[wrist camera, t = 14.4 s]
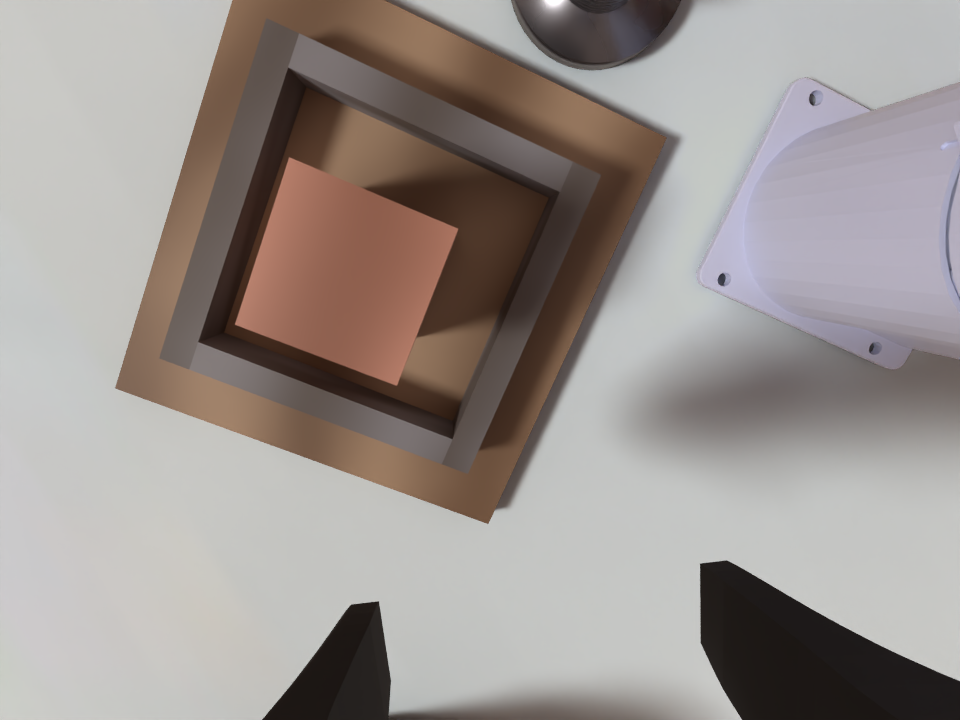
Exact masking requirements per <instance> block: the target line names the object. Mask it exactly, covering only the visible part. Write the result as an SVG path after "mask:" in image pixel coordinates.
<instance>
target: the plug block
mask: <svg viewBox="0 0 960 720" xmlns="http://www.w3.org/2000/svg"><path fill="white" fill-rule="evenodd" d="M457 232H458V228H455V227H453V226H451V225H448V224H446V223H443V222H441V221H439V220H436V219H434V218H432V217H429V216H427V215H425V214H422V213H420V212H417V211H415V210H413V209H410V208H408V207H406V206H403V205H401V204H399V203H396V202H394V201H392V200H389V199H387V198H384V197H382V196H380V195H377V194H375V193H373V192H370V191H368V190H366V189H363V188H361V187H358V186H356V185H354V184H351V183H349V182H347V181H344V180H342V179H340V178H337V177H335V176H332V175H330V174H328V173H325V172H323V171H321V170H318V169H316V168H314V167H311V166H309V165H306V164H304V163H302V162H299V161H297V160H295V159H292V158H290V157H289V160H288V163H287V166H286V169H285V172H284V175H283V178H282V181H281V184H280V187H279V190H278V193H277V197H276V200H275V203H274V206H273V209H272V212H271V215H270V218H269V221H268V224H267V227H266V230H265V233H264V237H263V240H262V243H261V246H260V249H259V252H258V255H257V258H256V261H255V264H254V267H253V270H252V274H251V277H250V280H249V283H248V286H247V289H246V292H245V295H244V298H243V301H242V304H241V307H240V310H239V314H238V317H237V320H236V323H235V325H237V326H240V327H242V328H245V329H248V330H250V331H253V332H256V333H258V334H261V335H264V336H266V337H269V338H271V339H274V340H277V341H279V342H282V343H285V344H287V345H290V346H293V347H295V348H298V349H301V350H303V351H306V352H309V353H311V354H314V355H316V356H319V357H322V358H324V359H327V360H330V361H332V362H335V363H338V364H340V365H343V366H346V367H348V368H351V369H354V370H356V371H359V372H361V373H364V374H367V375H369V376H372V377H375V378H377V379H380V380H383V381H385V382H388V383H391V384H393V385H396V386H397V384H398V382H399V379H400V377H401V374H402V372H403V369H404V367H405V365H406V362H407V360H408V357H409V355H410V352H411V350H412V347H413V345H414V342H415V340H416V337H417V335H418V332H419V330H420V327H421V325H422V322H423V320H424V317H425V314H426V312H427V309H428V307H429V304H430V302H431V299H432V297H433V294H434V291H435V289H436V286H437V284H438V281H439V279H440V276H441V274H442V271H443V269H444V266H445V263H446V261H447V258H448V256H449V253H450V251H451V248H452V246H453V243H454V240H455V238H456V235H457Z"/></svg>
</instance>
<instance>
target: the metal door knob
mask: <svg viewBox="0 0 960 720" xmlns="http://www.w3.org/2000/svg"><path fill="white" fill-rule="evenodd" d="M680 1H681V0H511V2H512V5H513V9H514V12H515V14H516V16H517V19H518V21H519V23H520V25H521V27H522V28H523V30H524V32H525V33H526V35H527V36H528V37H529V39H530V40H531V41H532V42H533V43H534V44H535V45H536V46H537V47H538V49H539V50H541V51H542V52H543V53H545V54H546V55H547V56H548V57H550V58H552V59H553V60H555V61H557V62H559V63H561V64H564V65H566V66H569V67H573V68H577V69H584V70H601V69H606V68H611V67H614V66H617V65H620V64H622V63H624V62H626V61H628V60H630V59H632V58H634V57H635V56H637V55H638V54H639V53H641V52H642V51H643V50H644V49H645V48H647V47H648V46H649V45H650V44H651V43H652V42H653V41H654V40H655V39H656V38H657V37H658V36H659V34H660V33H661V32H662V31H663V30H664V29H665V27H666V26H667V25H668V23H669V22H670V20H671V19H672V17H673V16H674V14H675V12H676V10H677V8H678V6H679V4H680Z"/></svg>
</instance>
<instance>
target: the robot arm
mask: <svg viewBox="0 0 960 720" xmlns="http://www.w3.org/2000/svg"><path fill="white" fill-rule="evenodd" d="M810 94H813V95H814V96H815V98H816V102H815V105H814V106H812V105H811V104H810V102H809V96H810ZM722 273H724V274H725V277H726V280H725V282H724V284H723V285H719V284H718V281H717V280H718V276H719V275H720V274H722ZM696 279H697V281H698V282H699V284H701V285H702V286H704V287H706V288H708V289H710V290H713V291H715V292H717V293H719V294H722V295H724V296H726V297H728V298H730V299H733V300H735V301H737V302H739V303H742V304H744V305H746V306H748V307H750V308H753V309H755V310H757V311H759V312H761V313H764V314H766V315H768V316H770V317H773V318H775V319H777V320H779V321H781V322H784V323H786V324H788V325H790V326H793V327H795V328H797V329H799V330H801V331H804V332H806V333H808V334H810V335H812V336H815V337H817V338H819V339H821V340H824V341H826V342H828V343H830V344H832V345H835V346H837V347H839V348H841V349H844V350H846V351H848V352H850V353H852V354H855V355H857V356H859V357H861V358H863V359H866V360H868V361H870V362H872V363H875V364H877V365H879V366H881V367H884V368H888V369H892V370H894V369H898V368H900V367H901V366H902V365H903V364H904V363H905V361H906V360H907V358H908V356H909V355H910V353H911V351H912V350H913V349H914V350H919V351H923V352H928V353H932V354H937V355H941V356H946V357H950V358H955V359H959V360H960V82H958V83H955V84H952V85H949V86H946V87H943V88H940V89H937V90H934V91H931V92H928V93H924V94H921V95H918V96H915V97H912V98H909V99H906V100H903V101H900V102H897V103H894V104H891V105H888V106H885V107H882V108H878V109H875V110H872V111H871V110H870V109H868V108H866V107H864V106H862V105H860V104H858V103H856V102H854V101H852V100H850V99H849V98H847V97H845V96H843V95H841V94H839V93H837V92H835V91H833V90H831V89H829V88H828V87H826V86H824V85H822V84H820V83H818V82H816V81H814V80H812V79H810V78H806V77H804V78H800V79H798V80H796V81H794V82H792V83H791V84H790V85H789V86H788V87H787V89H786V91H785V93H784V95H783V97H782V99H781V101H780V103H779V105H778V107H777V109H776V111H775V113H774V115H773V117H772V119H771V121H770V123H769V125H768V127H767V129H766V131H765V133H764V135H763V137H762V139H761V141H760V143H759V146H758V148H757V150H756V152H755V154H754V156H753V158H752V160H751V162H750V164H749V166H748V168H747V170H746V172H745V174H744V176H743V178H742V180H741V182H740V184H739V186H738V188H737V190H736V192H735V194H734V196H733V198H732V200H731V202H730V204H729V206H728V208H727V210H726V212H725V214H724V216H723V218H722V220H721V222H720V224H719V226H718V228H717V230H716V232H715V234H714V236H713V238H712V241H711V243H710V245H709V247H708V249H707V251H706V253H705V255H704V257H703V259H702V261H701V263H700V265H699V267H698V269H697V272H696ZM872 343H874V348H873V350H872V351H871V352H869V347H870V345H871V344H872ZM700 598H701V644H702V646H703V649H704V651H705V653H706V655H707V657H708V659H709V661H710V664H711V666H712V668H713V670H714V672H715V674H716V676H717V678H718V680H719V682H720V684H721V686H722V688H723V690H724V691H725V693H726V695H727V696H728V698H729V699H730V701H731V703H732V704H733V706H734V707H735V709H736V711H737V712H738V714H739V715H740V717H741V719H742V720H960V681H958V680H955V679H953V678H951V677H948V676H946V675H943V674H941V673H939V672H936V671H934V670H932V669H930V668H927V667H925V666H923V665H921V664H918V663H916V662H914V661H912V660H910V659H907V658H905V657H903V656H901V655H898V654H896V653H894V652H892V651H890V650H888V649H886V648H884V647H882V646H880V645H878V644H876V643H874V642H872V641H870V640H868V639H866V638H864V637H862V636H860V635H858V634H856V633H854V632H852V631H851V630H849V629H847V628H845V627H843V626H841V625H839V624H837V623H835V622H834V621H832V620H830V619H828V618H826V617H824V616H823V615H821V614H819V613H817V612H816V611H814V610H812V609H810V608H809V607H807V606H805V605H803V604H802V603H800V602H798V601H796V600H795V599H793V598H791V597H790V596H788V595H786V594H784V593H783V592H781V591H779V590H778V589H776V588H774V587H773V586H771V585H769V584H768V583H766V582H764V581H762V580H761V579H759V578H757V577H756V576H754V575H752V574H751V573H749V572H747V571H745V570H744V569H742V568H740V567H738V566H736V565H735V564H733V563H731V562H729V561H719V562H710V563H702V564H700ZM390 685H391V679H390V672H389V666H388V659H387V652H386V646H385V639H384V633H383V626H382V620H381V613H380V606H379V602H370V603H362V604H353V605H350V607H349V608H348V609H347V610H346V612H345V613H344V614H343V616H342V617H341V619H340V620H339V621H338V623H337V624H336V626H335V627H334V629H333V630H332V631H331V633H330V634H329V636H328V637H327V638H326V640H325V641H324V643H323V644H322V645H321V647H320V648H319V649H318V651H317V652H316V653H315V655H314V656H313V657H312V659H311V660H310V661H309V663H308V664H307V665H306V667H305V668H304V669H303V671H302V672H301V673H300V674H299V676H298V677H297V678H296V680H295V681H294V682H293V683H292V685H291V686H290V687H289V688H288V690H287V691H286V692H285V693H284V694H283V696H282V697H281V698H280V699H279V700H278V702H277V703H276V704H275V705H274V706H273V707H272V709H271V710H270V711H269V712H268V713H267V715H266V716H265V717H264V718H263V719H262V720H388V714H389V700H390Z"/></svg>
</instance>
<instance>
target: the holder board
mask: <svg viewBox="0 0 960 720" xmlns="http://www.w3.org/2000/svg"><path fill="white" fill-rule="evenodd" d="M665 141H666V137H664V136H662V135H660V134H658V133H656V132H654V131H652V130H650V129H648V128H646V127H644V126H642V125H640V124H638V123H636V122H634V121H631V120H629V119H627V118H625V117H623V116H621V115H619V114H617V113H615V112H613V111H611V110H609V109H607V108H605V107H603V106H601V105H599V104H597V103H595V102H593V101H590V100H588V99H586V98H584V97H582V96H580V95H578V94H576V93H574V92H572V91H570V90H568V89H566V88H564V87H562V86H560V85H558V84H556V83H554V82H551V81H549V80H547V79H545V78H543V77H541V76H539V75H537V74H535V73H533V72H531V71H529V70H527V69H525V68H523V67H521V66H519V65H517V64H515V63H512V62H510V61H508V60H506V59H504V58H502V57H500V56H498V55H496V54H494V53H492V52H490V51H488V50H486V49H484V48H482V47H480V46H478V45H476V44H473V43H471V42H469V41H467V40H465V39H463V38H461V37H459V36H457V35H455V34H453V33H451V32H449V31H447V30H445V29H443V28H441V27H439V26H437V25H434V24H432V23H430V22H428V21H426V20H424V19H422V18H420V17H418V16H416V15H414V14H412V13H410V12H408V11H406V10H404V9H402V8H400V7H398V6H395V5H393V4H391V3H389V2H387V1H385V0H233V1H232V4H231V7H230V11H229V14H228V17H227V20H226V24H225V27H224V30H223V34H222V37H221V40H220V44H219V47H218V50H217V54H216V57H215V60H214V63H213V67H212V70H211V73H210V77H209V80H208V83H207V87H206V90H205V93H204V97H203V100H202V103H201V106H200V110H199V113H198V116H197V120H196V123H195V126H194V130H193V133H192V136H191V139H190V143H189V146H188V149H187V153H186V156H185V159H184V163H183V166H182V169H181V173H180V176H179V179H178V182H177V186H176V189H175V192H174V196H173V199H172V202H171V206H170V209H169V212H168V216H167V219H166V222H165V225H164V229H163V232H162V235H161V239H160V242H159V245H158V249H157V252H156V255H155V258H154V262H153V265H152V268H151V272H150V275H149V278H148V282H147V285H146V288H145V292H144V295H143V298H142V301H141V305H140V308H139V311H138V315H137V318H136V321H135V325H134V328H133V331H132V335H131V338H130V341H129V344H128V348H127V351H126V354H125V358H124V361H123V364H122V368H121V371H120V374H119V377H118V381H117V384H116V387H115V388H116V389H119V390H121V391H124V392H127V393H130V394H132V395H135V396H138V397H141V398H143V399H146V400H149V401H152V402H154V403H157V404H160V405H163V406H165V407H168V408H171V409H174V410H176V411H179V412H182V413H185V414H187V415H190V416H193V417H196V418H198V419H201V420H204V421H207V422H209V423H212V424H215V425H218V426H220V427H223V428H226V429H229V430H231V431H234V432H237V433H240V434H242V435H245V436H248V437H251V438H253V439H256V440H259V441H262V442H264V443H267V444H270V445H273V446H275V447H278V448H281V449H284V450H286V451H289V452H292V453H295V454H297V455H300V456H303V457H306V458H308V459H311V460H314V461H317V462H319V463H322V464H325V465H328V466H330V467H333V468H336V469H339V470H341V471H344V472H347V473H350V474H352V475H355V476H358V477H361V478H363V479H366V480H369V481H372V482H374V483H377V484H380V485H383V486H385V487H388V488H391V489H394V490H396V491H399V492H402V493H405V494H407V495H410V496H413V497H416V498H418V499H421V500H424V501H427V502H429V503H432V504H435V505H438V506H440V507H443V508H446V509H449V510H451V511H454V512H457V513H460V514H462V515H465V516H468V517H471V518H473V519H476V520H479V521H482V522H484V523H487V524H488V523H489V521H490V519H491V517H492V515H493V513H494V510H495V508H496V506H497V504H498V502H499V500H500V497H501V495H502V493H503V491H504V489H505V487H506V484H507V482H508V480H509V478H510V476H511V474H512V471H513V469H514V467H515V465H516V463H517V461H518V458H519V456H520V454H521V452H522V450H523V448H524V445H525V443H526V441H527V439H528V437H529V435H530V433H531V430H532V428H533V426H534V424H535V422H536V420H537V417H538V415H539V413H540V411H541V409H542V407H543V404H544V402H545V400H546V398H547V396H548V394H549V391H550V389H551V387H552V385H553V383H554V381H555V378H556V376H557V374H558V372H559V370H560V368H561V365H562V363H563V361H564V359H565V357H566V355H567V353H568V350H569V348H570V346H571V344H572V342H573V340H574V337H575V335H576V333H577V331H578V329H579V327H580V324H581V322H582V320H583V318H584V316H585V314H586V311H587V309H588V307H589V305H590V303H591V301H592V298H593V296H594V294H595V292H596V290H597V288H598V285H599V283H600V281H601V279H602V277H603V275H604V273H605V270H606V268H607V266H608V264H609V262H610V260H611V257H612V255H613V253H614V251H615V249H616V247H617V244H618V242H619V240H620V238H621V236H622V234H623V231H624V229H625V227H626V225H627V223H628V221H629V218H630V216H631V214H632V212H633V210H634V208H635V205H636V203H637V201H638V199H639V197H640V195H641V193H642V190H643V188H644V186H645V184H646V182H647V180H648V177H649V175H650V173H651V171H652V169H653V167H654V164H655V162H656V160H657V158H658V156H659V154H660V151H661V149H662V147H663V145H664V143H665ZM289 157H290V158H292V159H295V160H297V161H299V162H302V163H304V164H306V165H309V166H311V167H314V168H316V169H318V170H321V171H323V172H325V173H328V174H330V175H332V176H335V177H337V178H340V179H342V180H344V181H347V182H349V183H351V184H354V185H356V186H358V187H361V188H363V189H366V190H368V191H370V192H373V193H375V194H377V195H380V196H382V197H384V198H387V199H389V200H392V201H394V202H396V203H399V204H401V205H403V206H406V207H408V208H410V209H413V210H415V211H417V212H420V213H422V214H425V215H427V216H429V217H432V218H434V219H436V220H439V221H441V222H443V223H446V224H448V225H451V226H453V227H455V228H458V232H457V235H456V238H455V240H454V243H453V246H452V248H451V251H450V253H449V256H448V258H447V261H446V263H445V266H444V269H443V271H442V274H441V276H440V279H439V281H438V284H437V286H436V289H435V291H434V294H433V297H432V299H431V302H430V304H429V307H428V309H427V312H426V314H425V317H424V320H423V322H422V325H421V327H420V330H419V332H418V335H417V337H416V340H415V342H414V345H413V347H412V350H411V352H410V355H409V357H408V360H407V362H406V365H405V367H404V369H403V372H402V374H401V377H400V379H399V382H398V384H397V386H396V385H393V384H391V383H388V382H385V381H383V380H380V379H377V378H375V377H372V376H369V375H367V374H364V373H361V372H359V371H356V370H354V369H351V368H348V367H346V366H343V365H340V364H338V363H335V362H332V361H330V360H327V359H324V358H322V357H319V356H316V355H314V354H311V353H309V352H306V351H303V350H301V349H298V348H295V347H293V346H290V345H287V344H285V343H282V342H279V341H277V340H274V339H271V338H269V337H266V336H264V335H261V334H258V333H256V332H253V331H250V330H248V329H245V328H242V327H240V326H237V325H235V323H236V320H237V317H238V314H239V310H240V307H241V304H242V301H243V298H244V295H245V292H246V289H247V286H248V283H249V280H250V277H251V274H252V270H253V267H254V264H255V261H256V258H257V255H258V252H259V249H260V246H261V243H262V240H263V237H264V233H265V230H266V227H267V224H268V221H269V218H270V215H271V212H272V209H273V206H274V203H275V200H276V197H277V193H278V190H279V187H280V184H281V181H282V178H283V175H284V172H285V169H286V166H287V163H288V160H289Z"/></svg>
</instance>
